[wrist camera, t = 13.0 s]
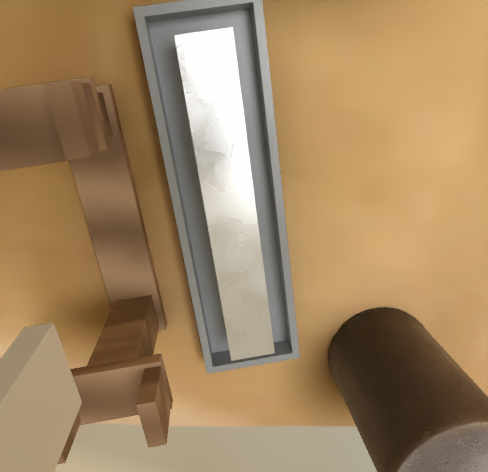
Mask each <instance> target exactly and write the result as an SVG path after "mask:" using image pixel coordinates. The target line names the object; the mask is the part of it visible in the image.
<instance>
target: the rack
mask: <svg viewBox="0 0 488 472" xmlns="http://www.w3.org/2000/svg"><path fill="white" fill-rule="evenodd" d="M62 161H70V165H71V168H72V172H73V175H74V179H75V182H76V186H77V189H78V193H79V196H80V200H81V204H82V207H83V211H84V214H85V218H86V221H87V225H88V228H89V232H90V235H91V239H92V242H93V246H94V249H95V253H96V256H97V260H98V263H99V267H100V270H101V274H102V277H103V281H104V285H105V288H106V292H107V295H108V299H109V302H110V306H111V309H112V310H111V312H110V314H109V317H108V319H107V321H106V324H105V326H104V328H103V330H102V333H101V335H100V337H99V340H98V342H97V344H96V346H95V349H94V351H93V353H92V355H91V358H90V360H89V362H88V365H87V366H86V367H80V368H75V369H70V370H71V373H72V375H73V378H74V381H75V384H76V387H77V389H78V392H79V395H80V398H81V401H82V404H81V406H80V409H79V411H78V414H77V416H76V419H75V421H74V424H73V426H72V429H71V431H70V434H69V436H68V439H67V441H66V444H65V446H64V449H63V451H62V454H61V456H60V459H59V461H58V464H61V463H65V462H66V459H67V457H68V454H69V451H70V449H71V446H72V444H73V441H74V438H75V436H76V433H77V430H78V428H79V425H84V424H89V423H95V422H101V421H106V420H112V419H117V418H123V417H129V416H134V415H139V416H140V420H141V423H142V427H143V430H144V433H145V437H146V440H147V444H148V447H154V446H159V445H165V444H166V443H167V434H168V425H169V416H170V409H172V401H173V399H172V395H171V391H170V387H169V383H168V379H167V375H166V371H165V367H164V363H163V359H162V355H161V354H156V355H153V353H154V348H155V343H156V338H157V333H158V331H161V330H166V326H167V322H166V317H165V313H164V309H163V305H162V300H161V296H160V292H159V287H158V283H157V279H156V275H155V270H154V266H153V262H152V257H151V253H150V249H149V245H148V240H147V236H146V232H145V227H144V223H143V219H142V215H141V210H140V206H139V202H138V197H137V193H136V189H135V184H134V180H133V176H132V172H131V167H130V163H129V159H128V154H127V150H126V146H125V142H124V137H123V133H122V129H121V124H120V120H119V116H118V112H117V107H116V103H115V99H114V94H113V90H112V86H111V84H105V85H97V86H95V82H94V78H92V77H84V78H77V79H70V80H63V81H56V82H49V83H41V84H34V85H27V86H20V87H13V88H6V89H0V171H1V170H8V169H15V168H22V167H28V166H35V165H42V164H48V163H55V162H62Z"/></svg>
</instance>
